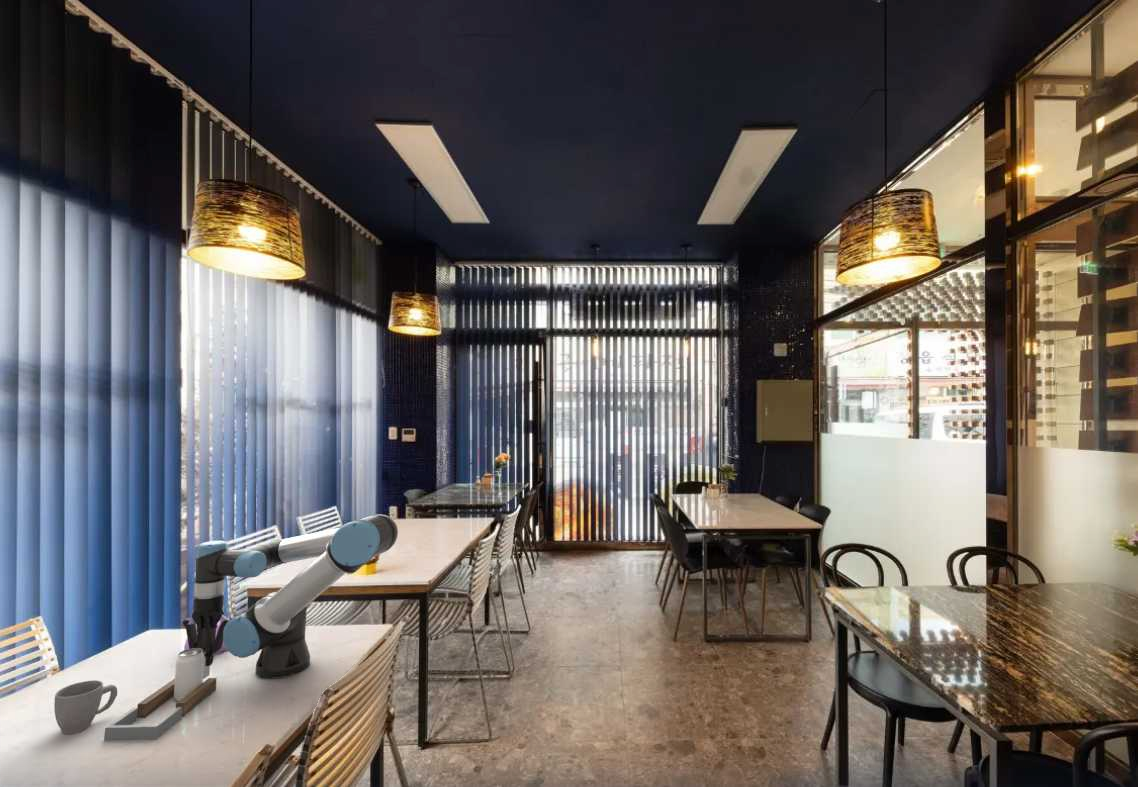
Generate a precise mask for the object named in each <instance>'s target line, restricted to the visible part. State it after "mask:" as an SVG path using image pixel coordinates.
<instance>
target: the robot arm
mask: <svg viewBox="0 0 1138 787" xmlns="http://www.w3.org/2000/svg"><path fill="white" fill-rule="evenodd" d="M398 534H399V530H398V525H397V524H396V522H395V521H394V519H393V518H391V517H390V516H389V515H386V514H374V515H370V516H367V517H364V518H362V519H354V520H351V521H349V522H346V523H345V524H343V525H342V526H340V527H338V528H332V529H328V530H322V531H317V532H313V533H307V534H303V535H298V536H292V537H289V538H288V537H287V538H284V539H283V538H280V539H273V540H271V541H269V542H265V543H261V544H258V545H255V546H251V547H248V548H244V549H229V548H228V542H227V541H224V540H212V541H211V540H210V541H205V542H202V543H199V545H198V546H197V550H196V557H195V575H194V576H195V578H194V588H193V596H194V597H193V605H192V610H193V611H192V614H191V616H190V617H188V618H186V619H184V620H183V621H182V624H183V626H184V628H185V632H186V636H187V638H188V644H189V649H192V648H201V649H203V651H202V652H203V653H204V652H205V653H204V669H203V680H205V679H206V678H207V677H209V676H210V672H211V671H210V669H211V665H213V663H214V655H213V654H214V653H216V652H217V651H219V650H220V649H221V646H222V643H223V641H224V644H225V647H226V648H227V649H226V651H228V652H229V653H230V654H231V655H232V656H233V657H237V658H240V659H244V658H248V657H250V656H254V655H255V654H257V653H258V652H259V651H260V653H259V656H258V658H257V661H256V664H255V675H256V677H259V678H263V679H280V678H285V677H290V676H292V675H295V674H298V673H300V672H303V671H304V670H306V669H307V668H308V667H309V666H310V664H311V654H310V653H311V652H310V651H309V648H308V644H307V641H306V627H307V626H306V625H307V609H308V608H307V606H308V605H309V604H311V603H312V602H313V601H314V600H316V599H317V598H318V597H319V596H320V595H321V594H322V593H324V592H325V591H326V590H327V589H329V588H330V587H331V586H332V585H333V584H335V583H336V582H337V581H338V580H340V578H342V577H343V576H344V575H346V574H348V575H349V574H355V573H356V572H358V570H360V569H361V568H363V567H364V566H365V565H366V564H367V563H368V562H370V561H371V560H372V559H373V558H375V557H377V556H379V555H381V554H383V553H386V552H387V551H389V550H390V549H392V547H393V546H394V545H395V543H396V541H397V540H398V536H399V535H398ZM314 558H316V559H314ZM308 559H314V561H312V562H311V563H310V564H309V565H308V566H306V567H305V568H304V569H302V571H300V572H299V573H298V574H297V575H296V576H294V577H293V578H292V579H291V580H289V581H288V582H287V583H286V584H285V585H284V586H283V587H282V588H280V589H279V590H277V591H274V592H270V593H268V594H266V596H265V597H262V598H261V599H259V600H258V601H256V602H255V603H254V604H252V605H251V606H250V607H249V608H248V609H247V610H245V611H244V612H243V613H241V614H237V615H235V616H233V617H227V616H225V613H224V609H223V607H224V603H225V602H224V601H225V594H224V592H225V585H226V577H233V578H235V577H236V578H243V579H247V578H257V577H258V576H260V575H261V574H262V573H263V572H264V571H265V569H267V568H270V567H274V566H278V565H282V564H288V563H292V562H296V561H302V560H308ZM220 620H221V621H220ZM219 621H220V627H219V629H218V633H217V636H216V628H217V623H218V622H219ZM196 625H197V631H196ZM197 632H198V634H197ZM215 636H216V639H215ZM187 638H186V639H187ZM305 668H306V669H305Z"/></svg>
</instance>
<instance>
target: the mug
mask: <svg viewBox="0 0 1138 787" xmlns="http://www.w3.org/2000/svg"><path fill="white" fill-rule="evenodd" d="M109 692H110V695H109V697H108V700H107V702H106V703H105V704H104V706H102V707H100V706H101V705H100V704H101V701H102V697H103V695H105V694H107V693H109ZM117 696H118V688H117V686H116V685H114V684H108V685H105V686H104V683H103V682H102V681H101V680H86V681H85V680H83V681H81V682H75V683H72V684H70V685H67V686H65V687H62V688H61V689H59V690H58V691H56V693H55V695H54V703H53V704H54V707H53V708H54V716H55V721H56V724H57V726H58V728H59V729H60V731H61V734H62V735H65V736H66V735H74V734H79V733H81V732H84V731H86V730H88V729H89V728H90V727H91V726H92V723H93V722H94V718H95V717H96V716H97V715H100V714H101V713H103V712H105V711H107V710H108V709H110V707H112V705H113V704H114V702H115V700H116V699H117Z"/></svg>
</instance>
